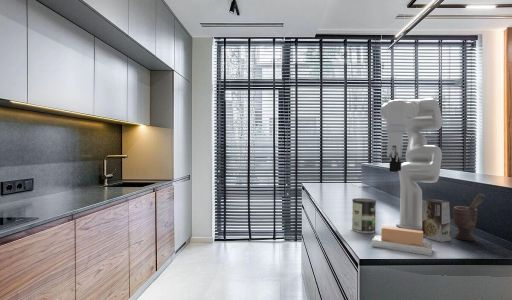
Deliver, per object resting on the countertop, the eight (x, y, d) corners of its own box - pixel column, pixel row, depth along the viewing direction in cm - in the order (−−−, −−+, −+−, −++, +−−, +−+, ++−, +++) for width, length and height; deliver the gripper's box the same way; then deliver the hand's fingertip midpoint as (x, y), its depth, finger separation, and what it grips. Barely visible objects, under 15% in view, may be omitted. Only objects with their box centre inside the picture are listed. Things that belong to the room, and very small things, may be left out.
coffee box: (451, 240, 132) (452, 201, 133) (441, 242, 130) (442, 202, 130) (430, 235, 141) (431, 198, 141) (421, 236, 138) (421, 199, 138)
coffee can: (377, 229, 149) (378, 199, 149) (372, 234, 140) (373, 202, 140) (355, 226, 154) (355, 197, 154) (349, 231, 145) (349, 200, 145)
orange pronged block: (381, 246, 123) (381, 228, 123) (382, 243, 126) (383, 225, 126) (422, 252, 116) (422, 233, 116) (422, 249, 119) (423, 230, 119)
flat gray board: (371, 246, 122) (371, 239, 122) (375, 241, 129) (375, 235, 129) (431, 255, 112) (431, 248, 112) (432, 249, 119) (432, 243, 119)
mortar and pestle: (487, 240, 133) (488, 192, 133) (483, 244, 127) (484, 194, 127) (455, 235, 141) (456, 190, 141) (450, 238, 135) (451, 191, 135)
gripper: (389, 131, 143) (388, 169, 143) (383, 128, 128) (382, 171, 128) (407, 131, 139) (407, 170, 139) (403, 128, 124) (403, 172, 124)
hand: (395, 171), depth 133 cm, fingers open, 9 cm apart
